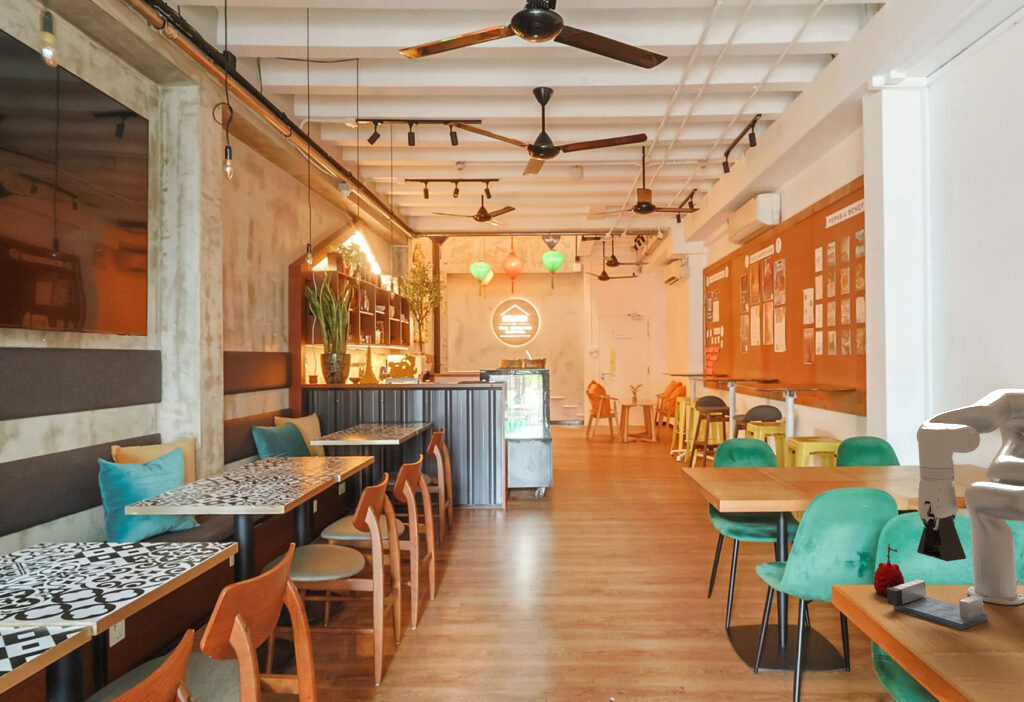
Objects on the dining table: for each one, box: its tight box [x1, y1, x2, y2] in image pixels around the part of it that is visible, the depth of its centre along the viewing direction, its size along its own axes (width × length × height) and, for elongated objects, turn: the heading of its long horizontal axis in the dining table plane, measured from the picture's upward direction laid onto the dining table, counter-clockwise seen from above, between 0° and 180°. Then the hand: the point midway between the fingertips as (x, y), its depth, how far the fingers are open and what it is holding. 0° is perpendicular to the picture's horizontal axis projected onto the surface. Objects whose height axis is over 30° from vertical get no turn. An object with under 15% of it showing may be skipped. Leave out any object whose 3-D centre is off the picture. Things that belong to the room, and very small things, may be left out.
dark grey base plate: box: [893, 595, 988, 631], centre depth 165 cm, size 12×16×6 cm
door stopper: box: [916, 514, 967, 562], centre depth 167 cm, size 9×6×12 cm, turn 15°
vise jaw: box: [886, 579, 927, 607], centre depth 171 cm, size 14×2×4 cm, turn 119°
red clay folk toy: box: [873, 543, 905, 597], centre depth 181 cm, size 8×7×15 cm
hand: (940, 541), depth 167 cm, fingers closed on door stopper, 6 cm apart
